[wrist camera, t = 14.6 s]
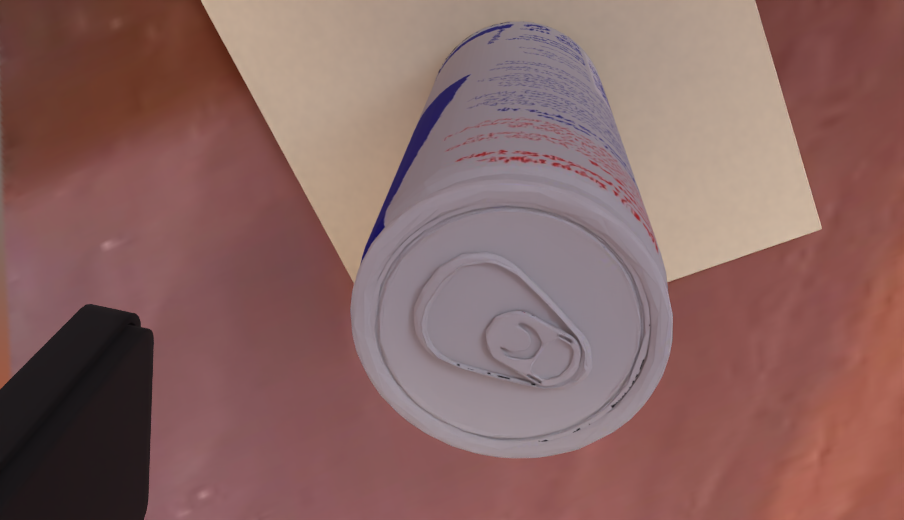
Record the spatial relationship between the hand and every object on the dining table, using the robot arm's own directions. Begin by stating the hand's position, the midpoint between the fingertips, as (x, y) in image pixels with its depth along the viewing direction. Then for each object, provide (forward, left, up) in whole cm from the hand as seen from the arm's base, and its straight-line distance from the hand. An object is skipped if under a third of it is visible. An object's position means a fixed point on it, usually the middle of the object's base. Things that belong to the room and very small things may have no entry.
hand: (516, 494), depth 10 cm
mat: (0, 0, -20) cm, 20 cm away
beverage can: (0, 0, -20) cm, 20 cm away
